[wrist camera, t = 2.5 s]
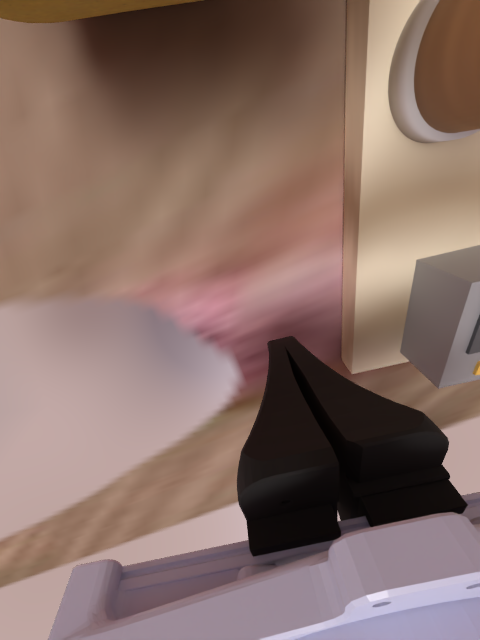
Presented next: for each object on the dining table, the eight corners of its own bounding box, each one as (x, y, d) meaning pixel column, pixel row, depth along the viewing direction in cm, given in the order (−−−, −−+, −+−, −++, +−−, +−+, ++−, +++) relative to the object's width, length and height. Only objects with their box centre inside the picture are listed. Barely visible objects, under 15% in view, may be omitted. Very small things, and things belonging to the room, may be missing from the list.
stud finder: (463, 337, 15) (519, 373, 12) (399, 352, 15) (440, 390, 12) (497, 240, 12) (581, 259, 9) (416, 259, 12) (475, 284, 9)
